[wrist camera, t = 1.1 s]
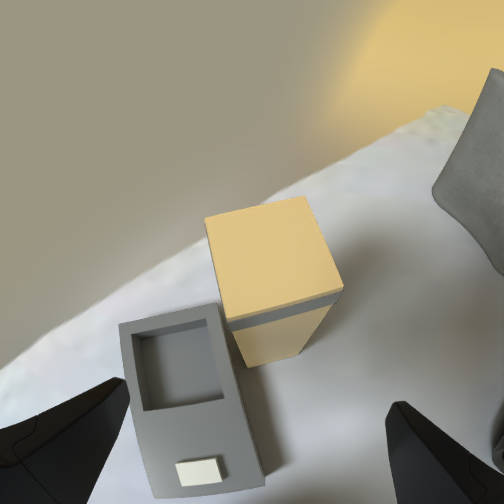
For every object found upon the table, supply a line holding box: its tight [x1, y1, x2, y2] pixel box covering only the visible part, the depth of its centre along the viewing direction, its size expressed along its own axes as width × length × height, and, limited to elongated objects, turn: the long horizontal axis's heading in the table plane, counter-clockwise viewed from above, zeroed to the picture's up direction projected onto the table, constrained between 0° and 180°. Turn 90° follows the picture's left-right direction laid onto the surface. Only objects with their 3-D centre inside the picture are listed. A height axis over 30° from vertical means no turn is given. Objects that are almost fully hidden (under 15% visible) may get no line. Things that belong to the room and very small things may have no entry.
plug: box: [204, 196, 344, 368], centre depth 16 cm, size 4×4×14 cm
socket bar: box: [118, 303, 265, 499], centre depth 18 cm, size 14×8×3 cm, turn 14°
